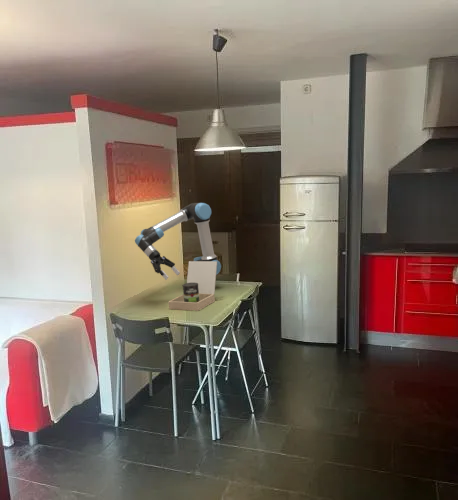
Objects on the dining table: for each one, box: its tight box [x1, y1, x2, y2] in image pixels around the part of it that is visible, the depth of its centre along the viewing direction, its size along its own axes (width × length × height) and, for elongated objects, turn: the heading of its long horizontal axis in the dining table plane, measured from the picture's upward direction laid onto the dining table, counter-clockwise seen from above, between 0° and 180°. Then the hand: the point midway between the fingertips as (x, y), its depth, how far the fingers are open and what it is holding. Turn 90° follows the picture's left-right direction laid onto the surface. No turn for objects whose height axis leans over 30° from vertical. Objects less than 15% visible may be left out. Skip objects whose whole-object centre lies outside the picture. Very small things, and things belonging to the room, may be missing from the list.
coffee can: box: [182, 282, 199, 303], centre depth 296 cm, size 10×10×14 cm
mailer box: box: [167, 260, 218, 312], centre depth 298 cm, size 30×22×26 cm
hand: (173, 276), depth 299 cm, fingers open, 13 cm apart
